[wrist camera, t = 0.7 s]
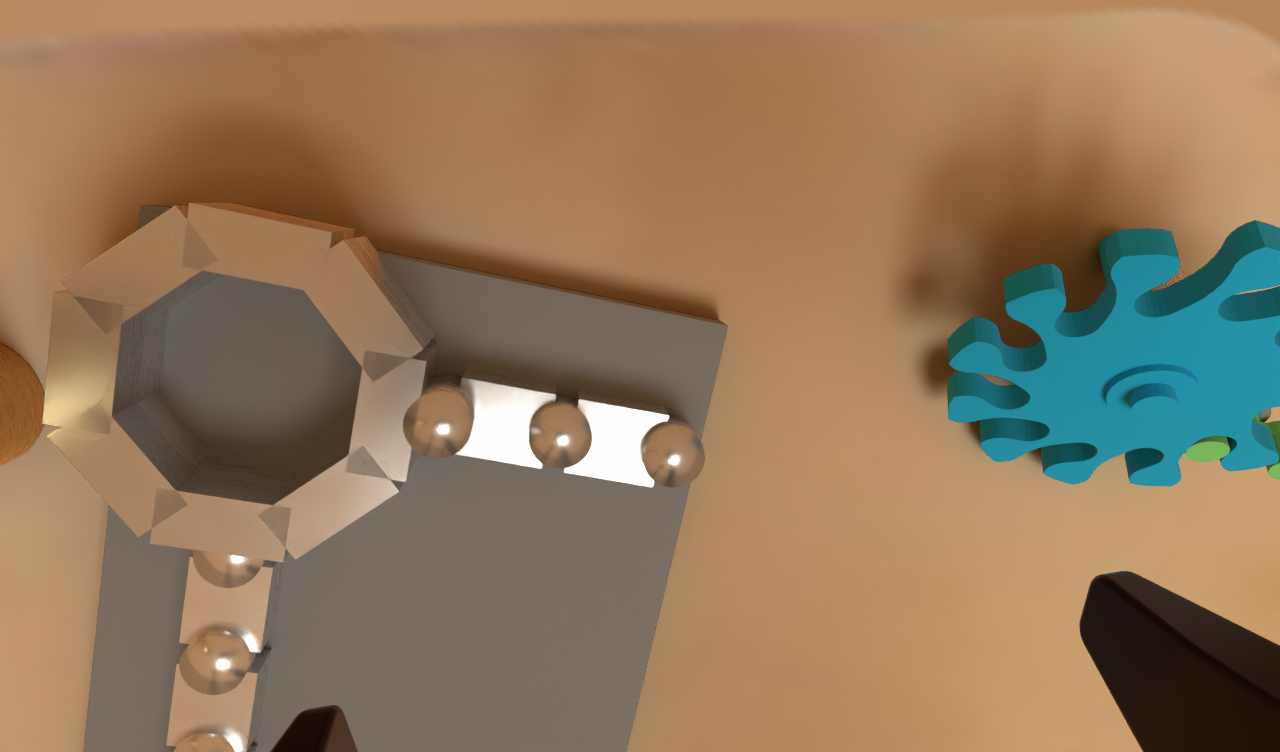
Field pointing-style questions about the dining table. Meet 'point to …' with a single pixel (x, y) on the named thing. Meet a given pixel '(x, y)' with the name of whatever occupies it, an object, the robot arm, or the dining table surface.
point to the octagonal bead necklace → (280, 499)
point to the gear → (1134, 363)
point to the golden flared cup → (18, 406)
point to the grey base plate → (420, 527)
